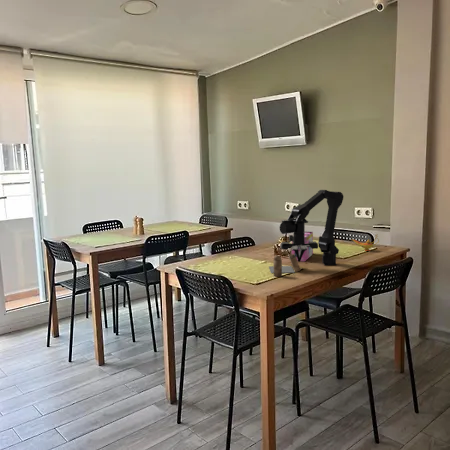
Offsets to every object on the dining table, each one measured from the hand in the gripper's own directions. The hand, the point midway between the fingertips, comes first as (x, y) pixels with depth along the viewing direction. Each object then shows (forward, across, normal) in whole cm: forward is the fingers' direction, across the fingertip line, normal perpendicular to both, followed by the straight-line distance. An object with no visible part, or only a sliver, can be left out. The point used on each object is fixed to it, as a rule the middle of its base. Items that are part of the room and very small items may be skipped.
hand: (299, 261), depth 233 cm
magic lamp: (+4, -46, -43) cm, 63 cm away
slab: (+4, +1, 0) cm, 4 cm away
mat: (+4, +9, 0) cm, 10 cm away
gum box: (+4, -6, -30) cm, 31 cm away
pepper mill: (+4, +12, +12) cm, 18 cm away
